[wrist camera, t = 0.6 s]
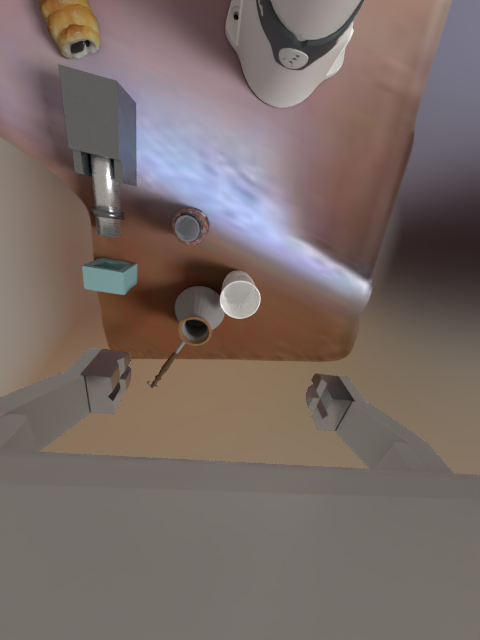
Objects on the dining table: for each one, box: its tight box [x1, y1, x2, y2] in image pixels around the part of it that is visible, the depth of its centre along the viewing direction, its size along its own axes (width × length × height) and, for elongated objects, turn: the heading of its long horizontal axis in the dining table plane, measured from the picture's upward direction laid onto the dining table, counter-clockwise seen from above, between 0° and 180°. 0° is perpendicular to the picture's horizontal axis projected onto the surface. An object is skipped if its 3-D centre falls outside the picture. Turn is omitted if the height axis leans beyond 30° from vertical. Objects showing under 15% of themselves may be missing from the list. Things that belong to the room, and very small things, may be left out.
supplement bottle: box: [172, 208, 209, 245], centre depth 41 cm, size 6×6×11 cm
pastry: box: [38, 0, 100, 59], centre depth 31 cm, size 9×7×4 cm
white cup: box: [220, 270, 260, 319], centre depth 48 cm, size 8×8×10 cm
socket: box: [82, 257, 137, 295], centre depth 46 cm, size 4×7×7 cm, turn 79°
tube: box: [90, 154, 124, 237], centre depth 38 cm, size 19×5×5 cm, turn 169°
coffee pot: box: [147, 286, 225, 388], centre depth 49 cm, size 21×12×15 cm, turn 140°
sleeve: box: [59, 65, 136, 186], centre depth 36 cm, size 12×7×7 cm, turn 169°
